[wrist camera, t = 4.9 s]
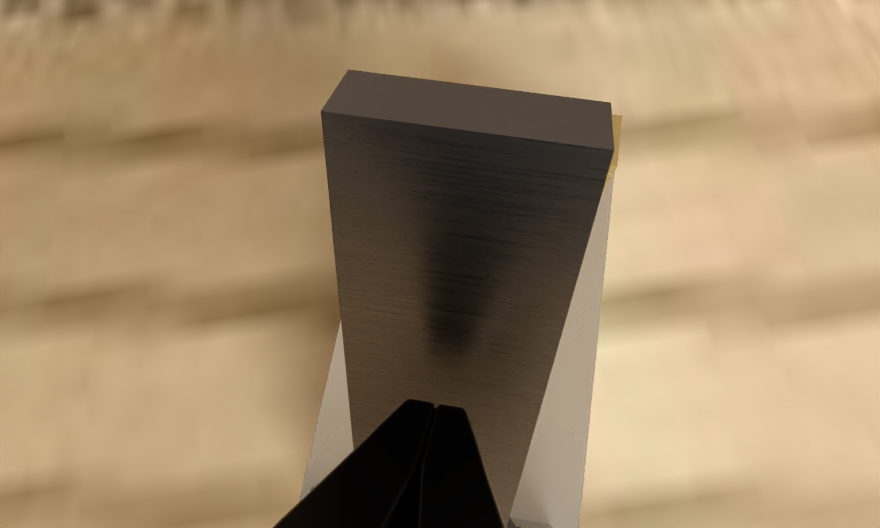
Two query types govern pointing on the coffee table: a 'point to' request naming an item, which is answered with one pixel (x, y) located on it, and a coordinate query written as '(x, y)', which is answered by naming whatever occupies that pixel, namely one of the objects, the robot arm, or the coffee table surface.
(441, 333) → the block
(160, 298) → the coffee table surface
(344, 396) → the white box with posts
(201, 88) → the coffee table surface
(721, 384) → the coffee table surface
